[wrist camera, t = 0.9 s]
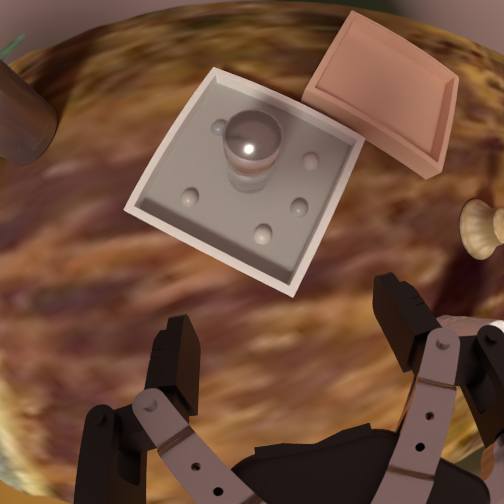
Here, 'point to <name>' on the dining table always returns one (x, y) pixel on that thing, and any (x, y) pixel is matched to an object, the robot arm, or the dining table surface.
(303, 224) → the bin
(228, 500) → the robot arm
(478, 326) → the white cup
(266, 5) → the dining table surface
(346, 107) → the terracotta bin
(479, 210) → the hand bell
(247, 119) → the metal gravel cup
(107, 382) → the dining table surface
